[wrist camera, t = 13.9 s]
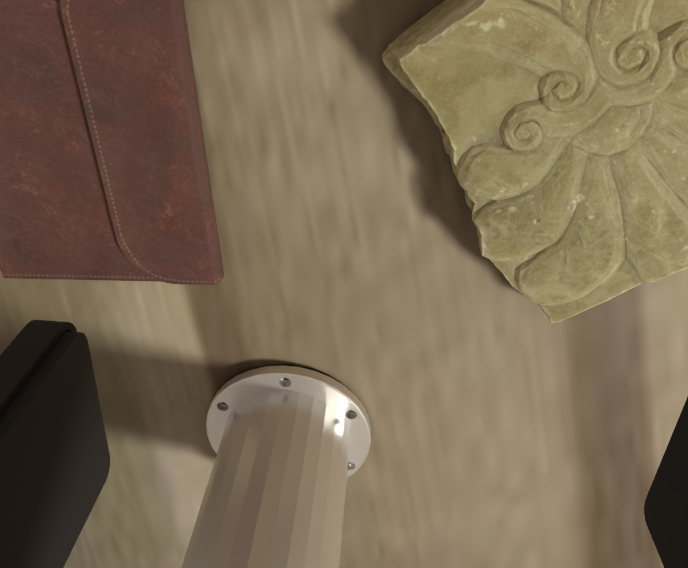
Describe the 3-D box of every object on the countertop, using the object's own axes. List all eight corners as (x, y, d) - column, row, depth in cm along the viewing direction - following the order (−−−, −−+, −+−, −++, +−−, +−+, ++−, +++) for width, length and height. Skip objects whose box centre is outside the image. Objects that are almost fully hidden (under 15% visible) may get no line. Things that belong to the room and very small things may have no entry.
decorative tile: (749, -226, 24) (915, 200, 30) (700, -205, 29) (851, 156, 35) (345, 72, 32) (546, 359, 38) (362, 48, 37) (537, 305, 43)
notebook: (11, 265, 45) (-4, 281, 43) (-104, -58, 34) (-130, -54, 32) (226, 269, 43) (219, 286, 42) (178, -64, 33) (166, -60, 31)
